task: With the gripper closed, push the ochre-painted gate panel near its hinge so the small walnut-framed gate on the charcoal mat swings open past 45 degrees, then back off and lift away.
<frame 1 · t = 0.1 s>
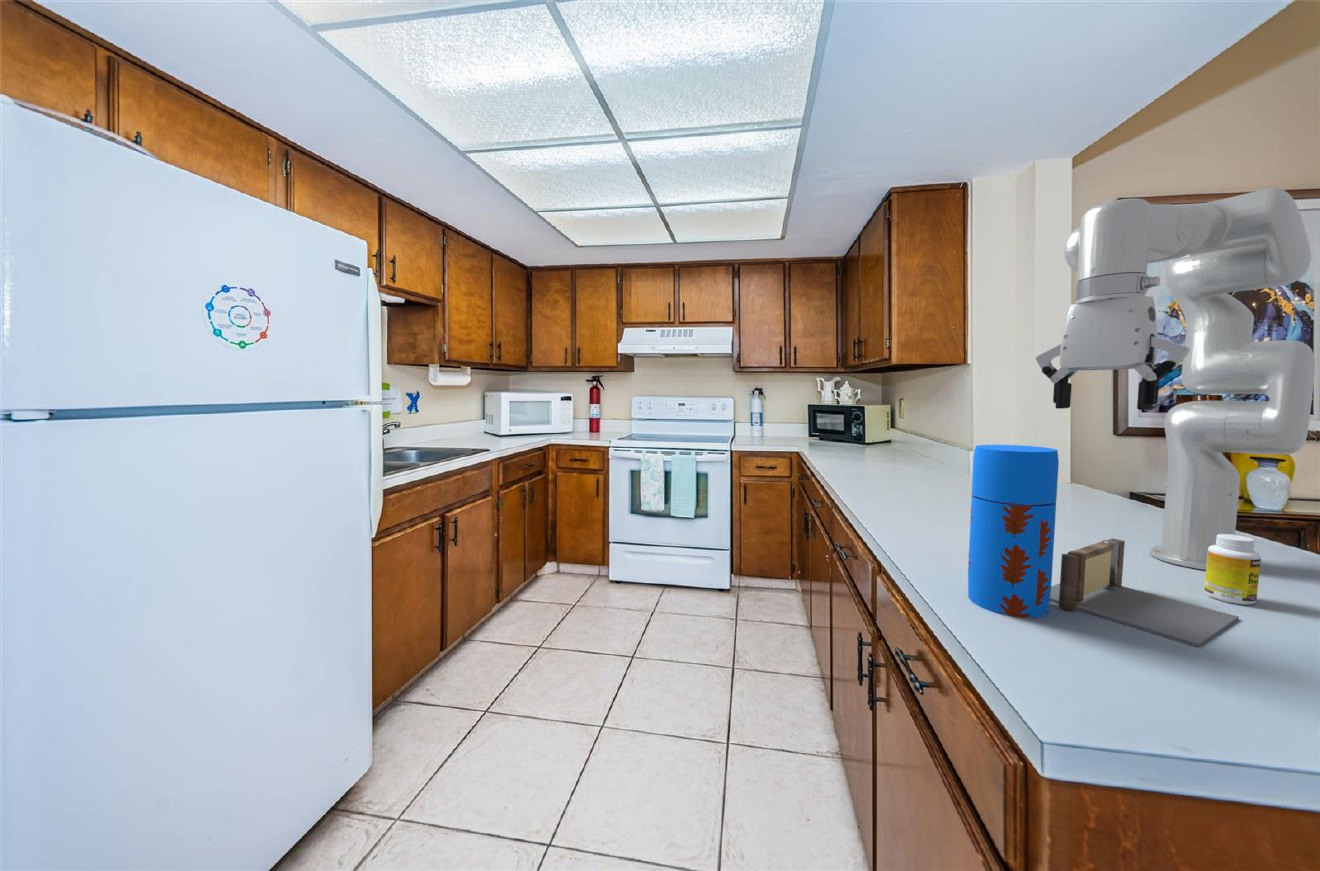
hand: (1101, 409, 73), 31 cm above the worktop, tool pointing down, fingers open, 9 cm apart
gate: (1093, 569, 80), point 5 cm above the worktop, hinge at 0.0°
gate frame: (1130, 606, 77), on the worktop
thermos: (1006, 604, 79), on the worktop
supplement bottle: (1229, 600, 80), on the worktop
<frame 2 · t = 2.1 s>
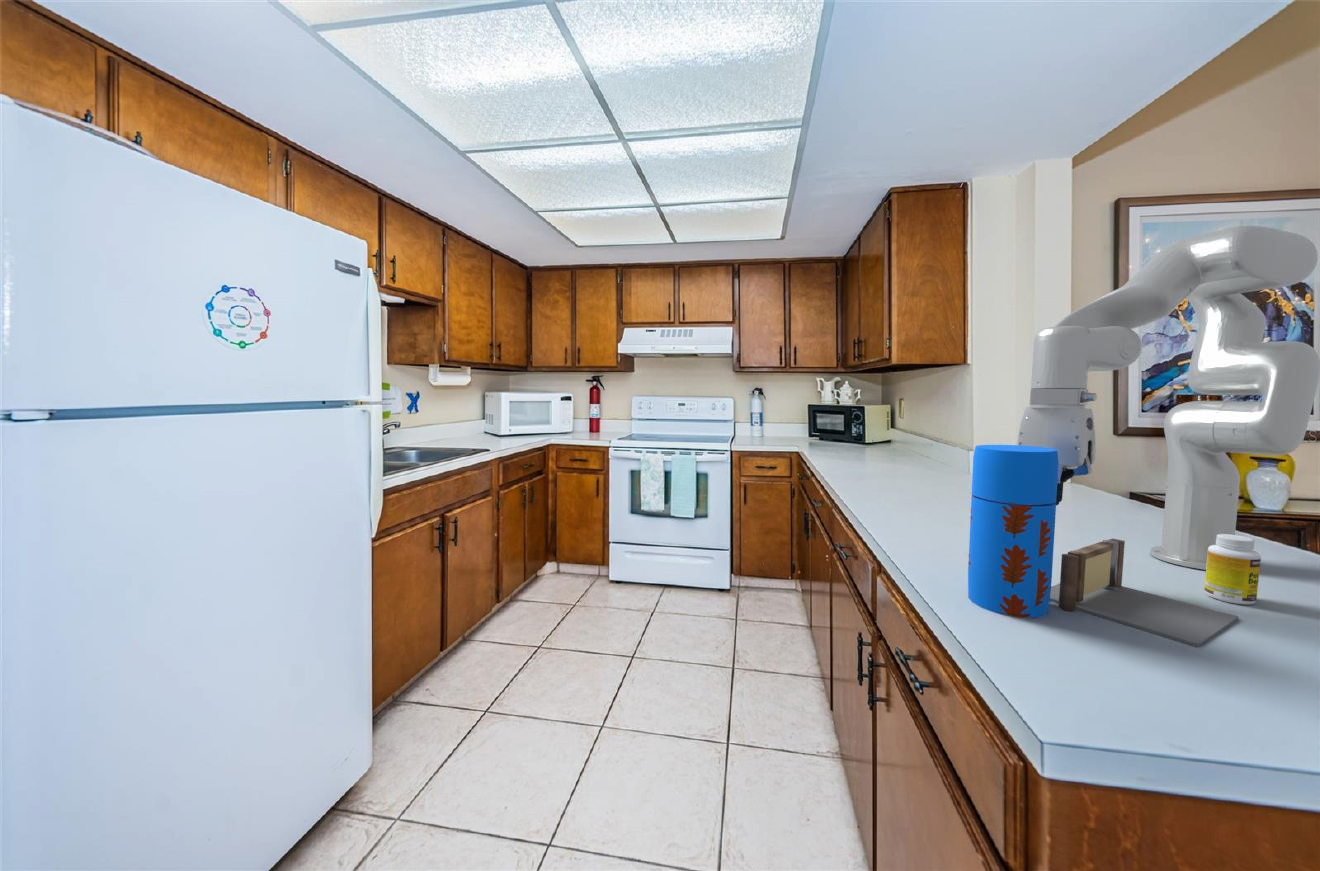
hand: (1049, 504, 86), 14 cm above the worktop, tool pointing down, fingers closed
nothing on the worktop moved.
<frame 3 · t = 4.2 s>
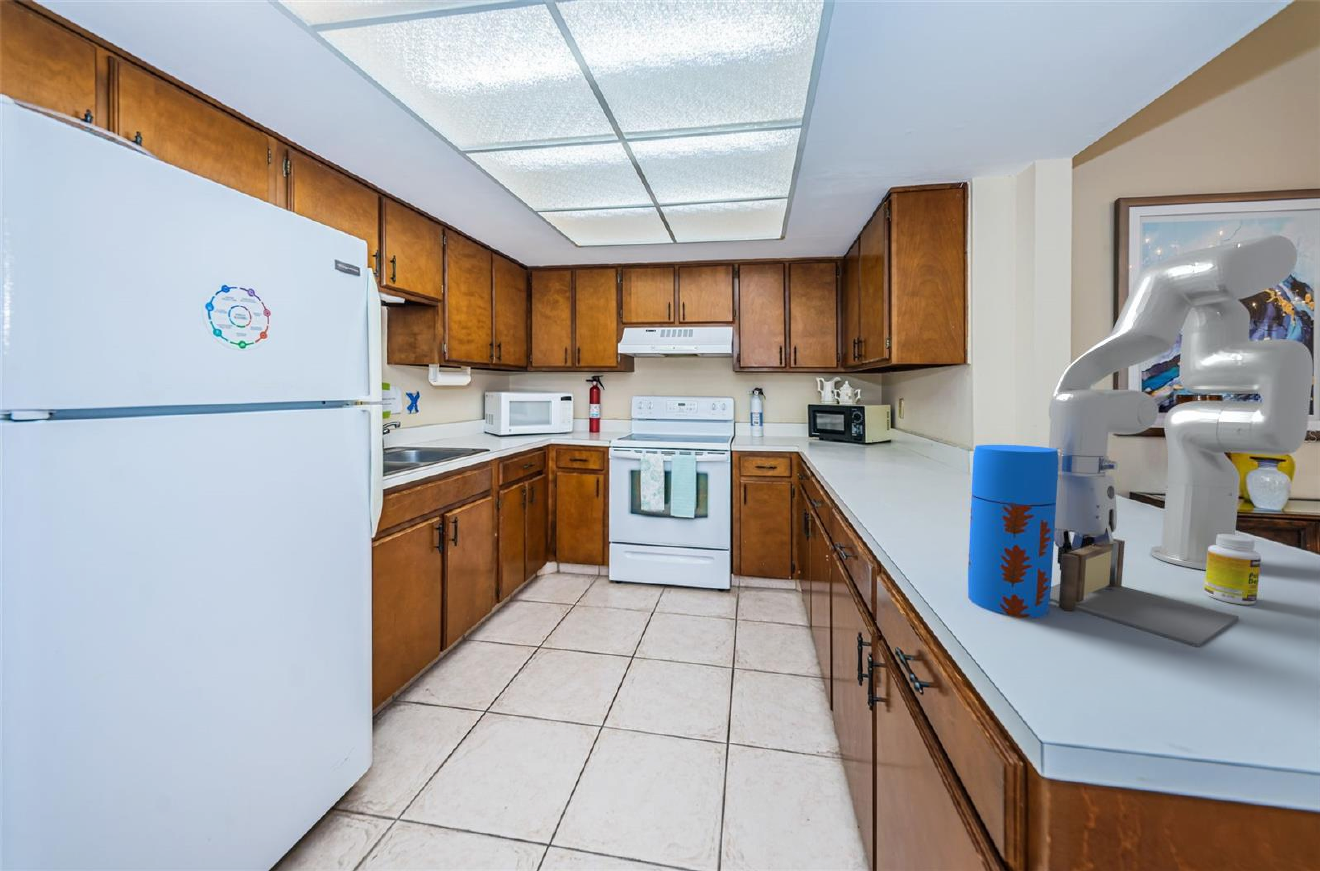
hand: (1069, 570, 84), 3 cm above the worktop, tool pointing down, fingers closed
gate: (1093, 569, 80), point 5 cm above the worktop, hinge at 0.2°, touching gripper
everything else where it was.
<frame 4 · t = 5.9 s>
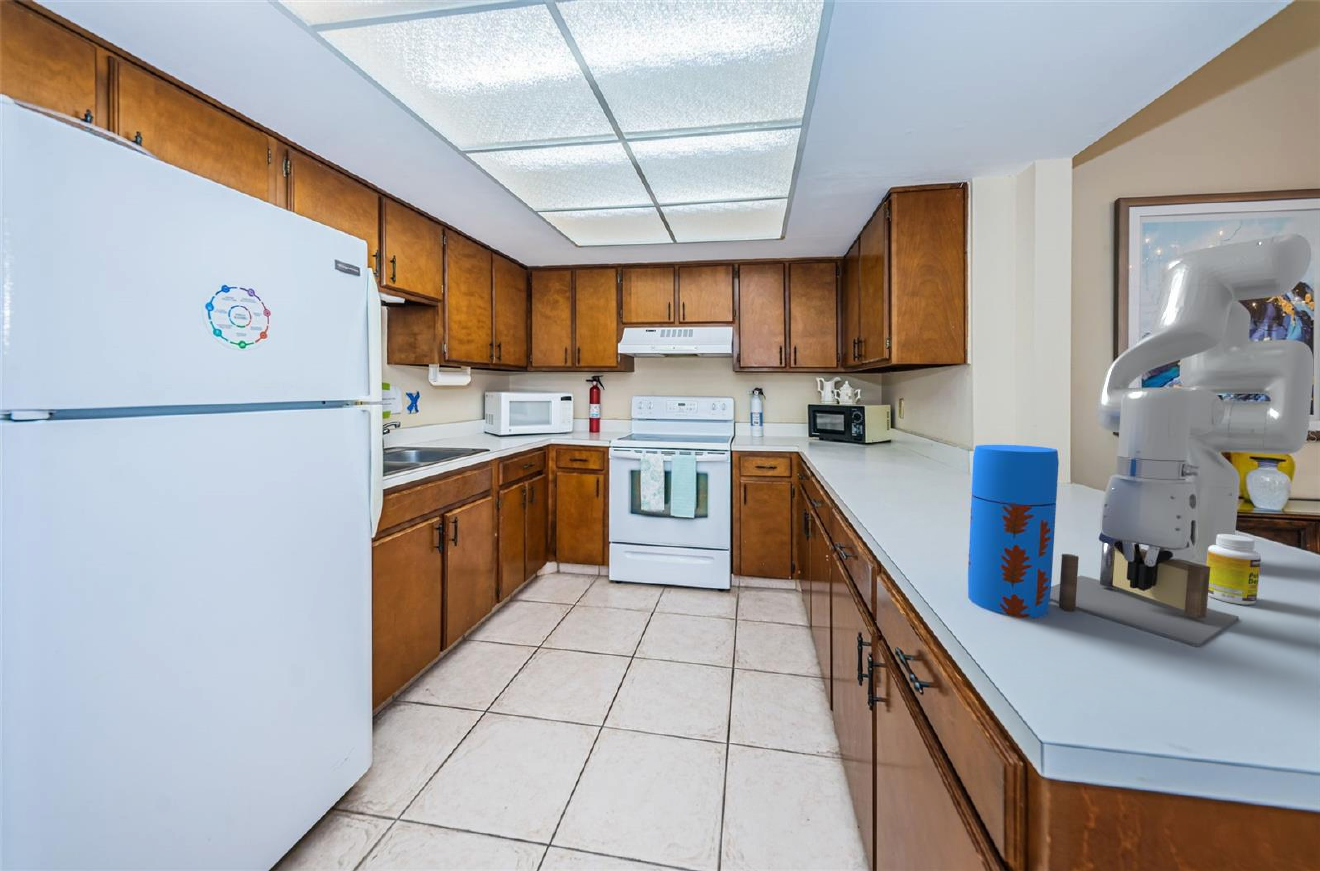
hand: (1140, 587, 76), 3 cm above the worktop, tool pointing down, fingers closed
gate: (1148, 575, 77), point 5 cm above the worktop, hinge at 72.6°, touching gripper
everything else where it was.
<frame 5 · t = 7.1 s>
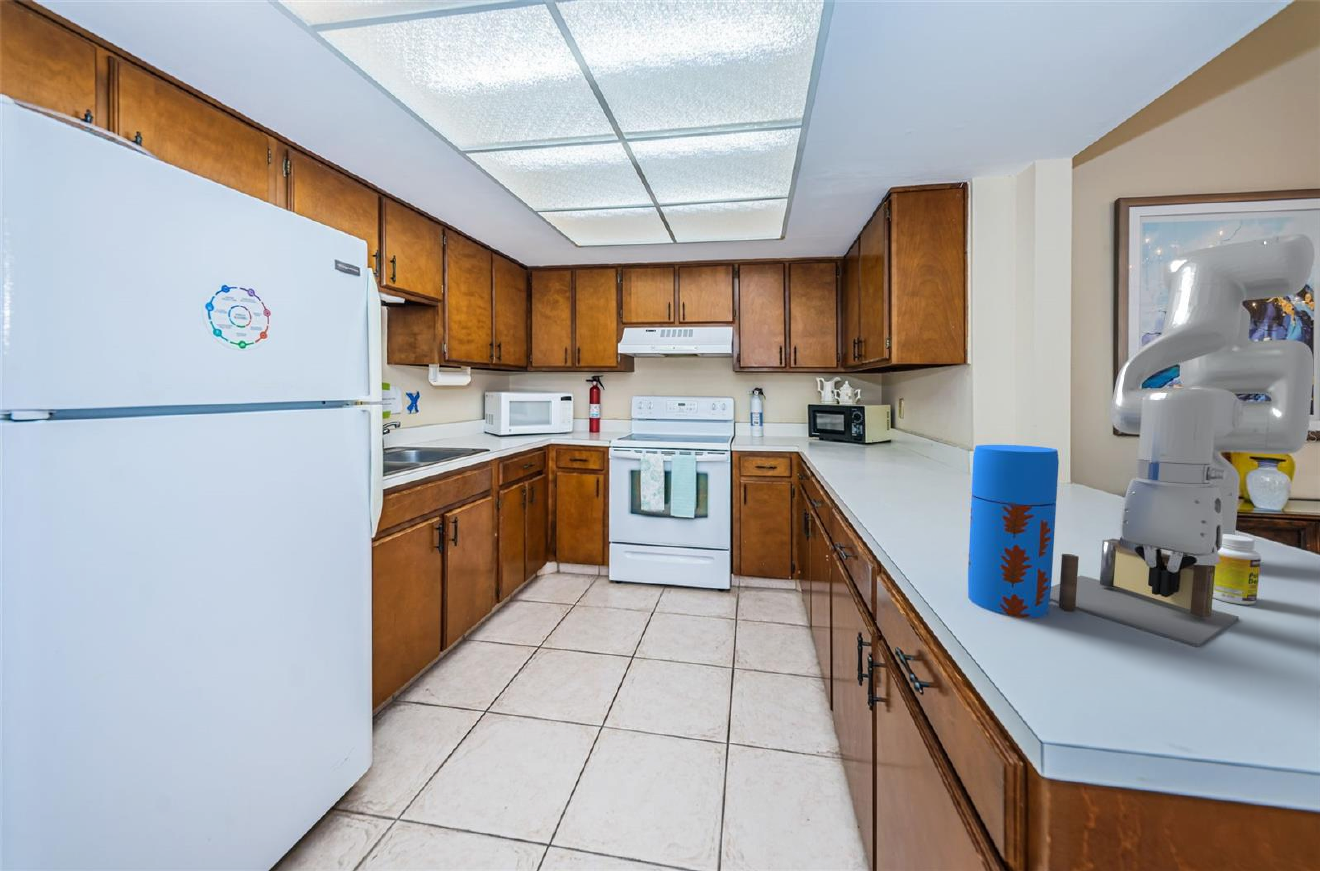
hand: (1162, 593, 74), 3 cm above the worktop, tool pointing down, fingers closed
gate: (1151, 575, 77), point 5 cm above the worktop, hinge at 77.9°, touching gripper
everything else where it was.
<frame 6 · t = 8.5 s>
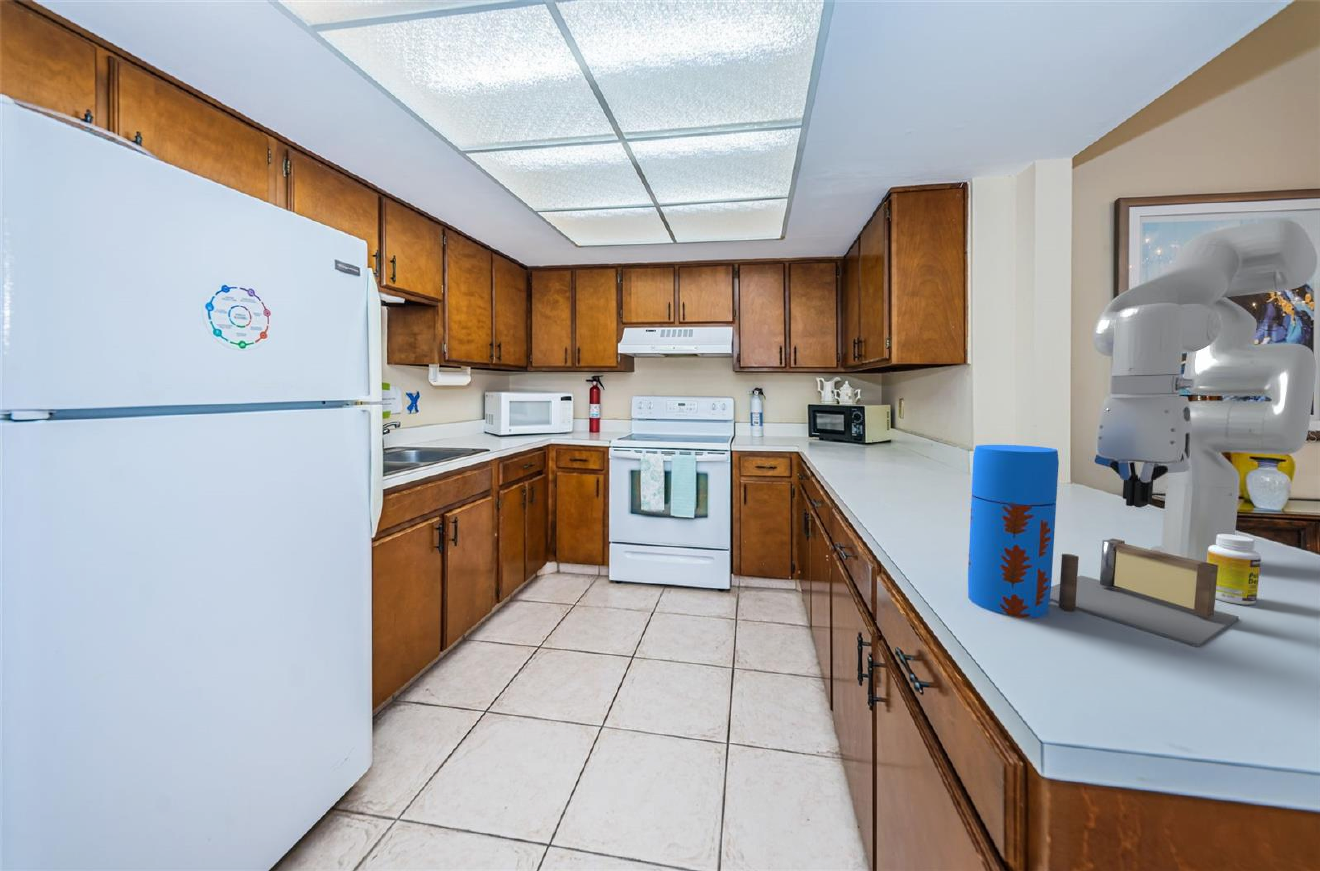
hand: (1136, 505, 77), 16 cm above the worktop, tool pointing down, fingers closed
gate: (1152, 575, 77), point 5 cm above the worktop, hinge at 81.6°
everything else where it was.
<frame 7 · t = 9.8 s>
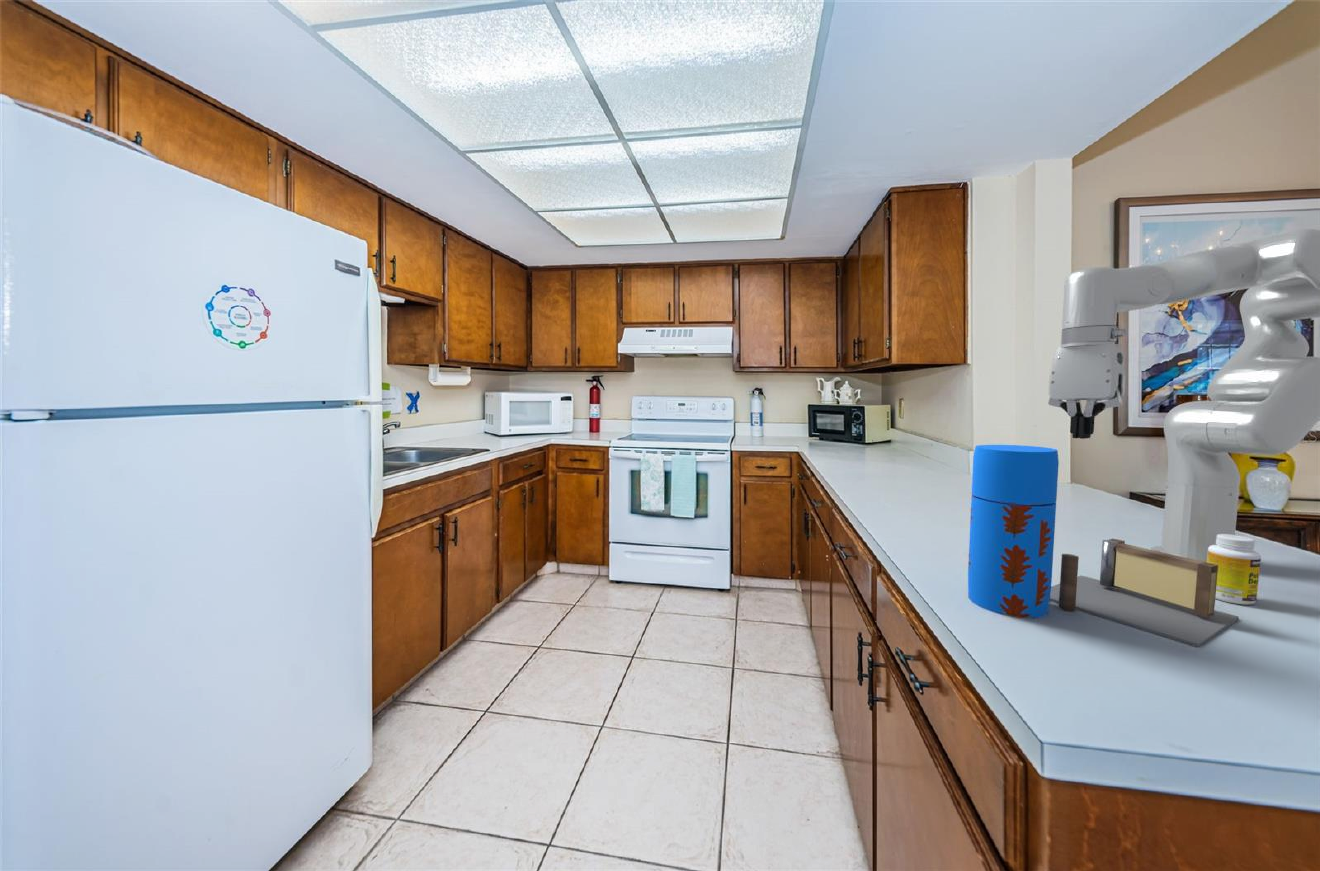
hand: (1081, 437, 92), 25 cm above the worktop, tool pointing down, fingers closed
nothing on the worktop moved.
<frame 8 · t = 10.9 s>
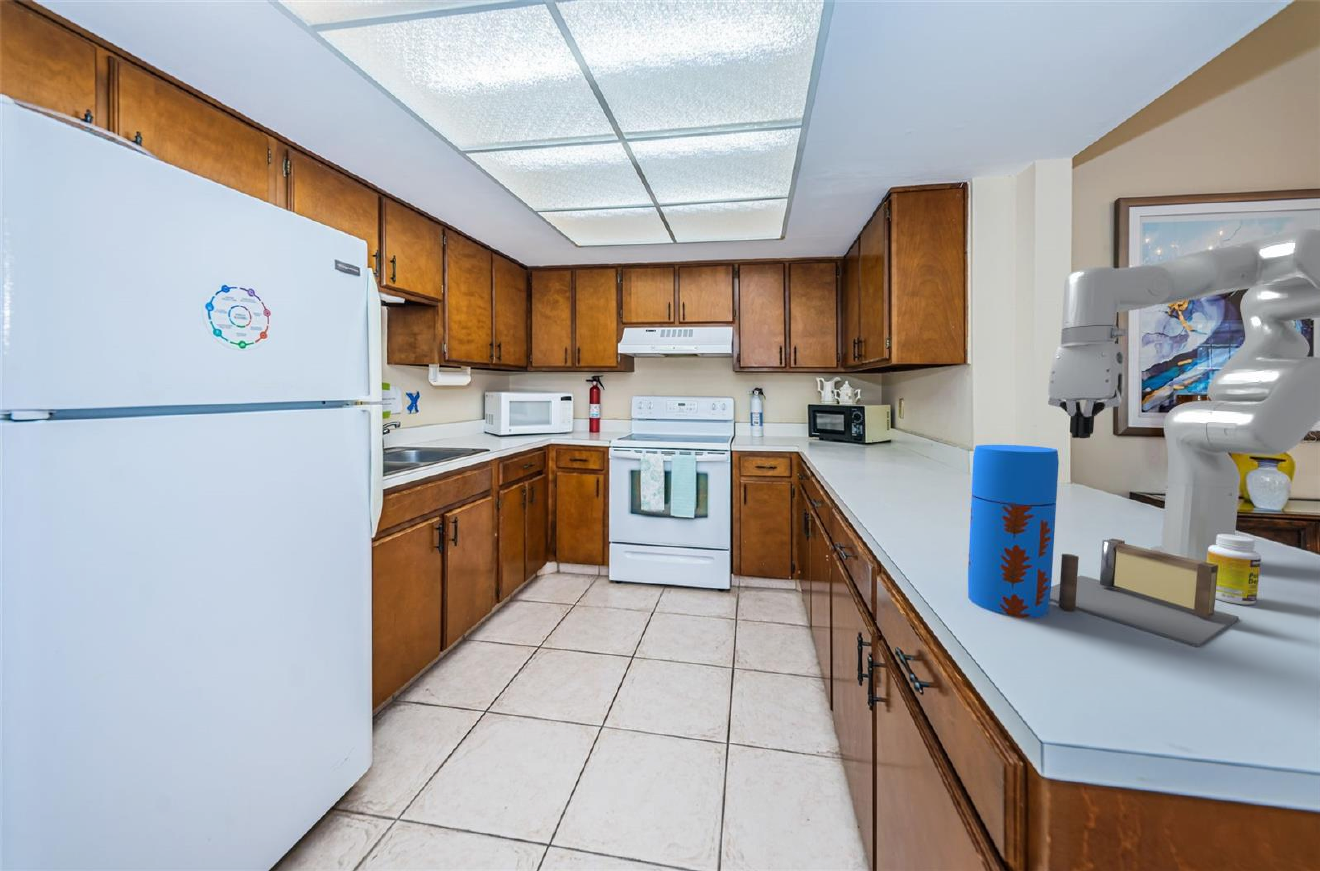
hand: (1081, 437, 92), 25 cm above the worktop, tool pointing down, fingers closed
nothing on the worktop moved.
at the end: gate at +82° (first picture: +0°) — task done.
